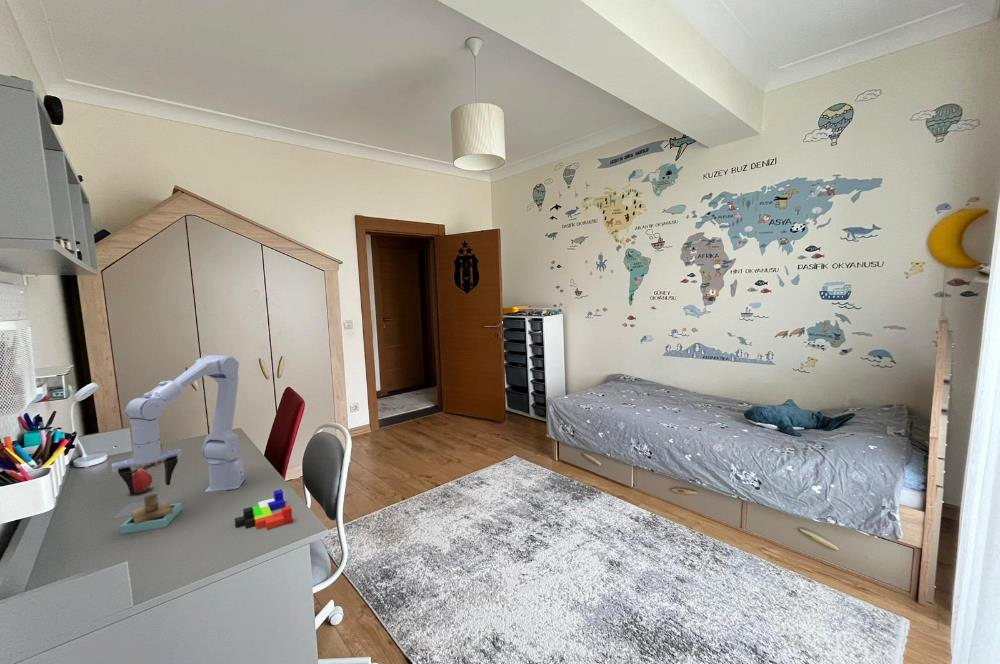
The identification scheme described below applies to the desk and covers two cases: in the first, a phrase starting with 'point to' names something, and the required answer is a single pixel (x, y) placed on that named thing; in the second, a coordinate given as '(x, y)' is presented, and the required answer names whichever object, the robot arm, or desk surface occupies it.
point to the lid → (151, 509)
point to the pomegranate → (141, 481)
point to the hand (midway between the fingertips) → (150, 488)
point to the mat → (132, 508)
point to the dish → (150, 522)
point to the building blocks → (266, 513)
